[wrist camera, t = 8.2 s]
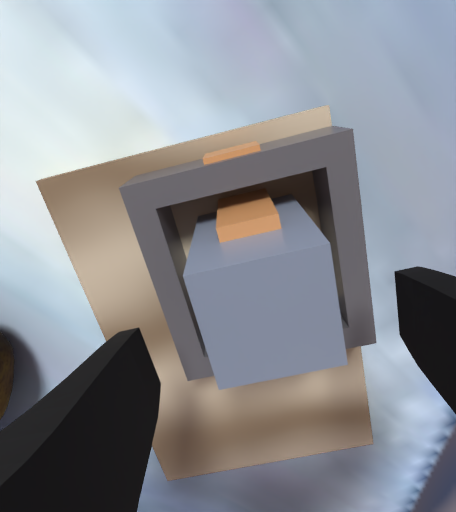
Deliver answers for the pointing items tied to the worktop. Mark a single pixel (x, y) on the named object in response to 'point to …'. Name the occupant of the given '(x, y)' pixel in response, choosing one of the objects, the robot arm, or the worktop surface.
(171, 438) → the board
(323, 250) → the plug
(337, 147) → the frame
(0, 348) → the potato
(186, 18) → the worktop surface
